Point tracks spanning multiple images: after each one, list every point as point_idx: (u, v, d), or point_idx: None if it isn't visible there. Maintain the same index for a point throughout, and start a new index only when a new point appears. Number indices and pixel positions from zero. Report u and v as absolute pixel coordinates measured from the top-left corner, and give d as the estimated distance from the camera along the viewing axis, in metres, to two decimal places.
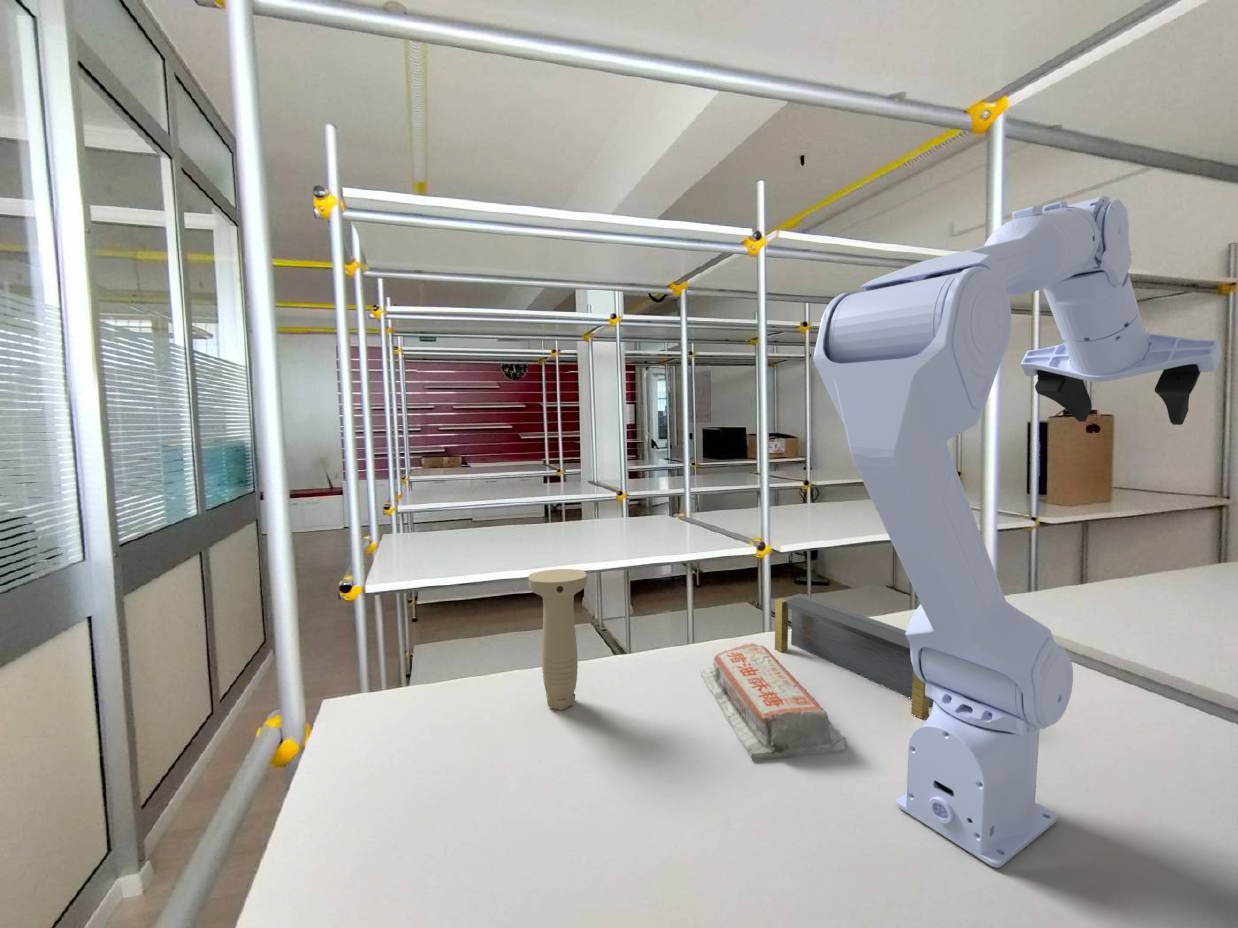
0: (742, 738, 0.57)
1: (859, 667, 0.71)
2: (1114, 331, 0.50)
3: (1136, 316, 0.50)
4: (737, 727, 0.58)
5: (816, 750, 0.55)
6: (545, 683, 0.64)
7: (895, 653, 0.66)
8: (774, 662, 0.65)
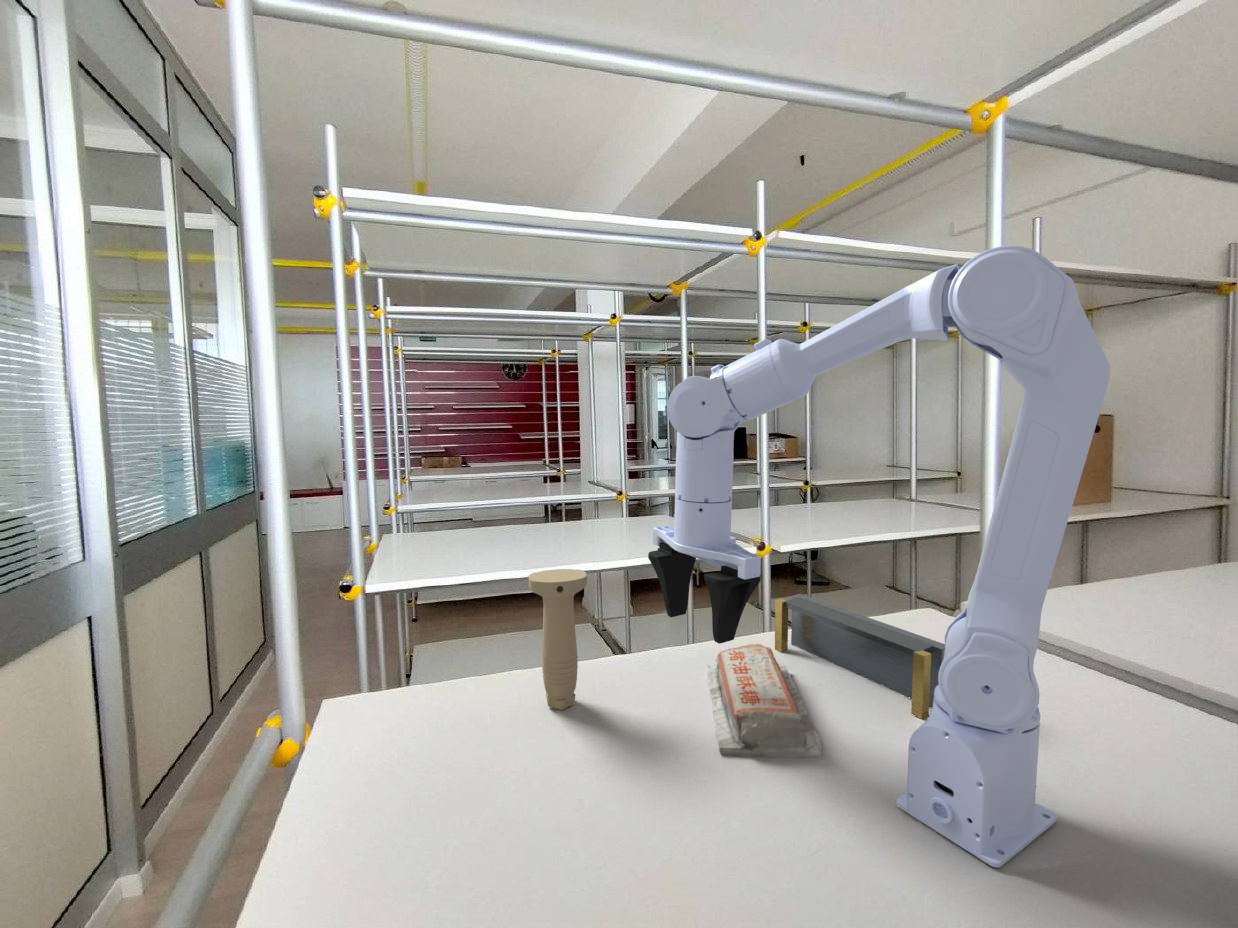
0: (717, 732, 0.58)
1: (859, 667, 0.71)
2: None
3: (721, 502, 0.55)
4: (717, 722, 0.59)
5: (789, 753, 0.54)
6: (545, 683, 0.64)
7: (895, 653, 0.66)
8: (771, 664, 0.65)
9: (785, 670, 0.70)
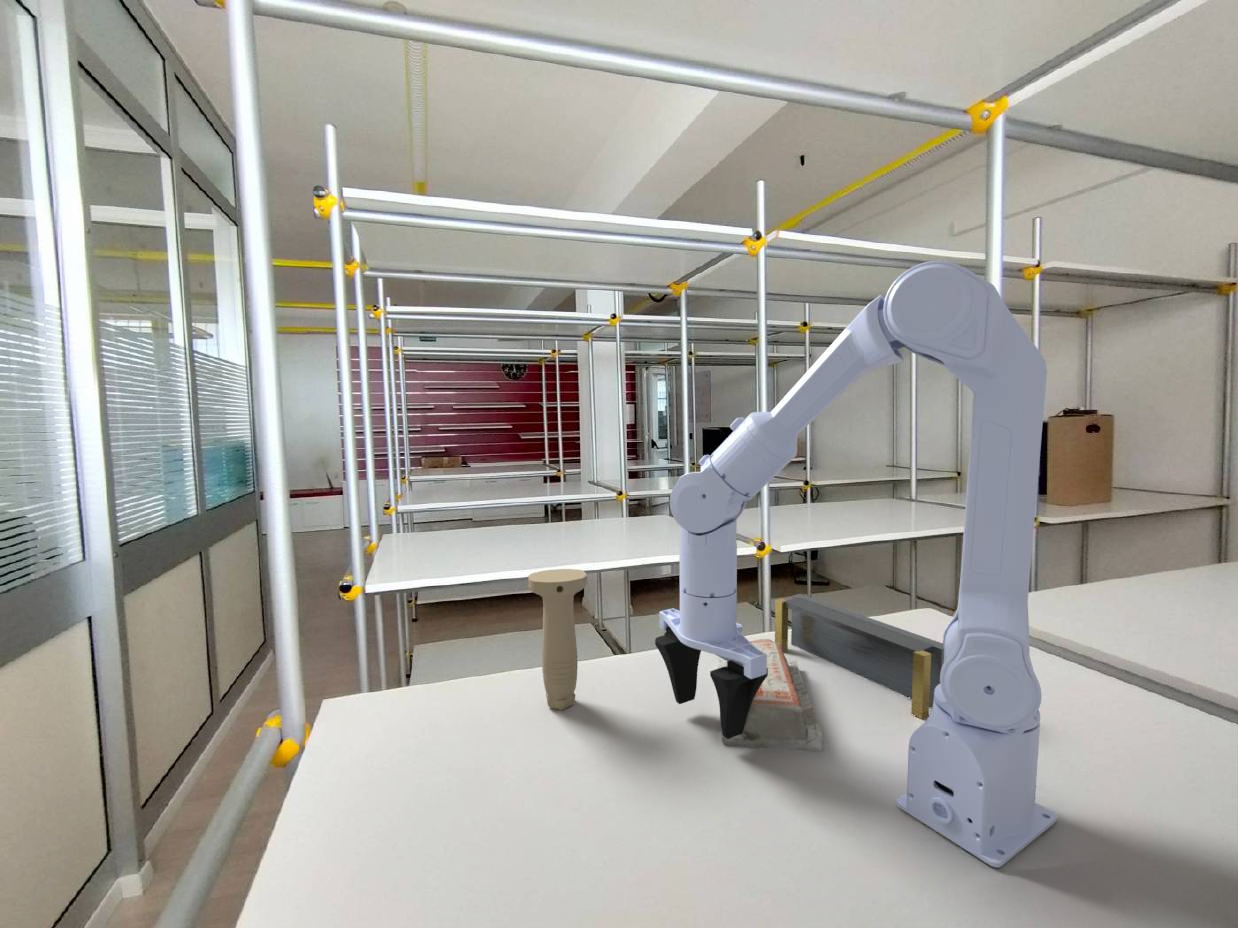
0: None
1: (859, 667, 0.71)
2: None
3: (725, 596, 0.55)
4: None
5: (790, 744, 0.56)
6: (545, 683, 0.64)
7: (895, 653, 0.66)
8: (778, 658, 0.66)
9: (795, 665, 0.71)
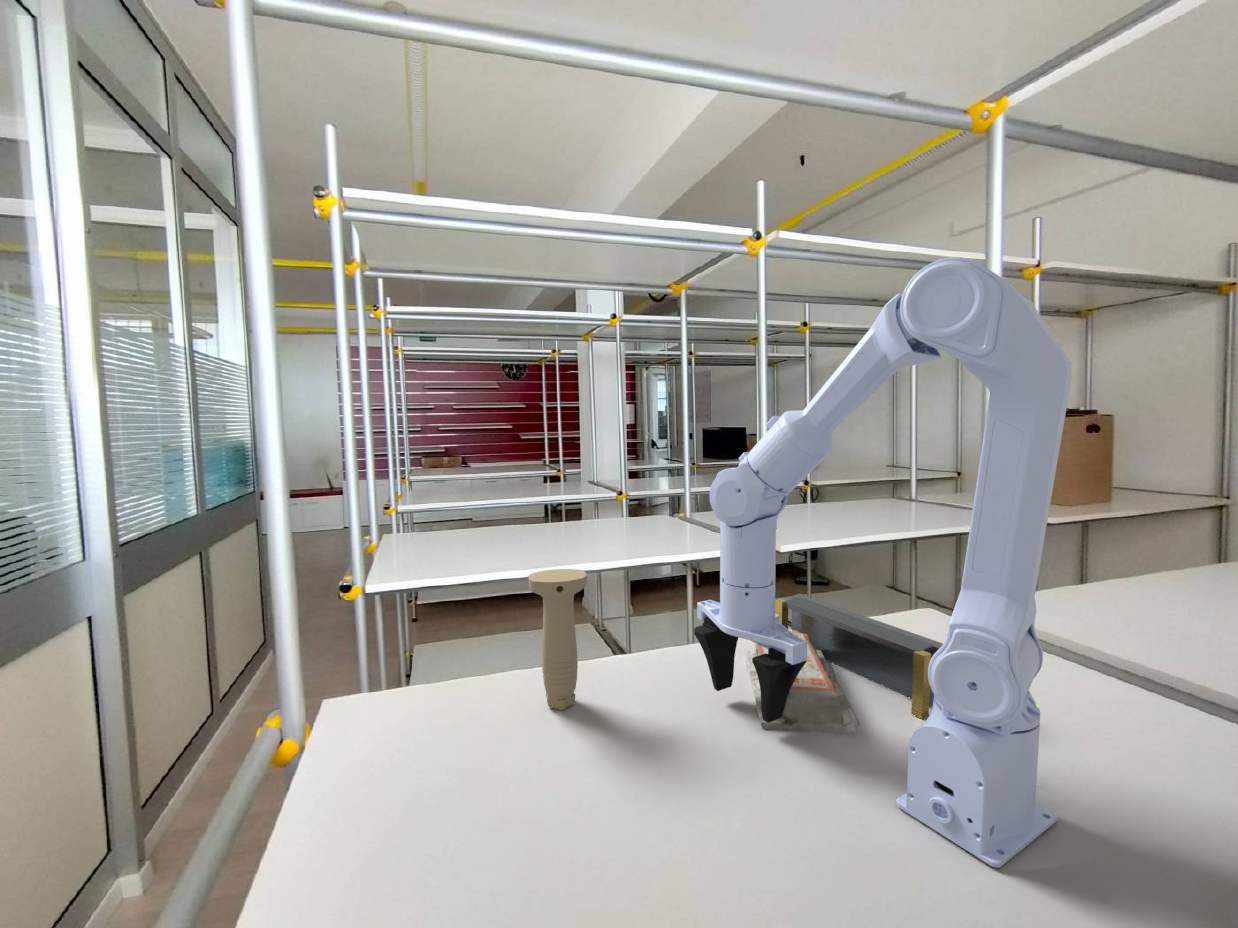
0: (759, 709, 0.62)
1: (859, 667, 0.71)
2: None
3: (766, 586, 0.58)
4: (758, 700, 0.64)
5: (826, 728, 0.58)
6: (545, 683, 0.64)
7: (895, 653, 0.66)
8: (808, 648, 0.69)
9: (821, 656, 0.74)
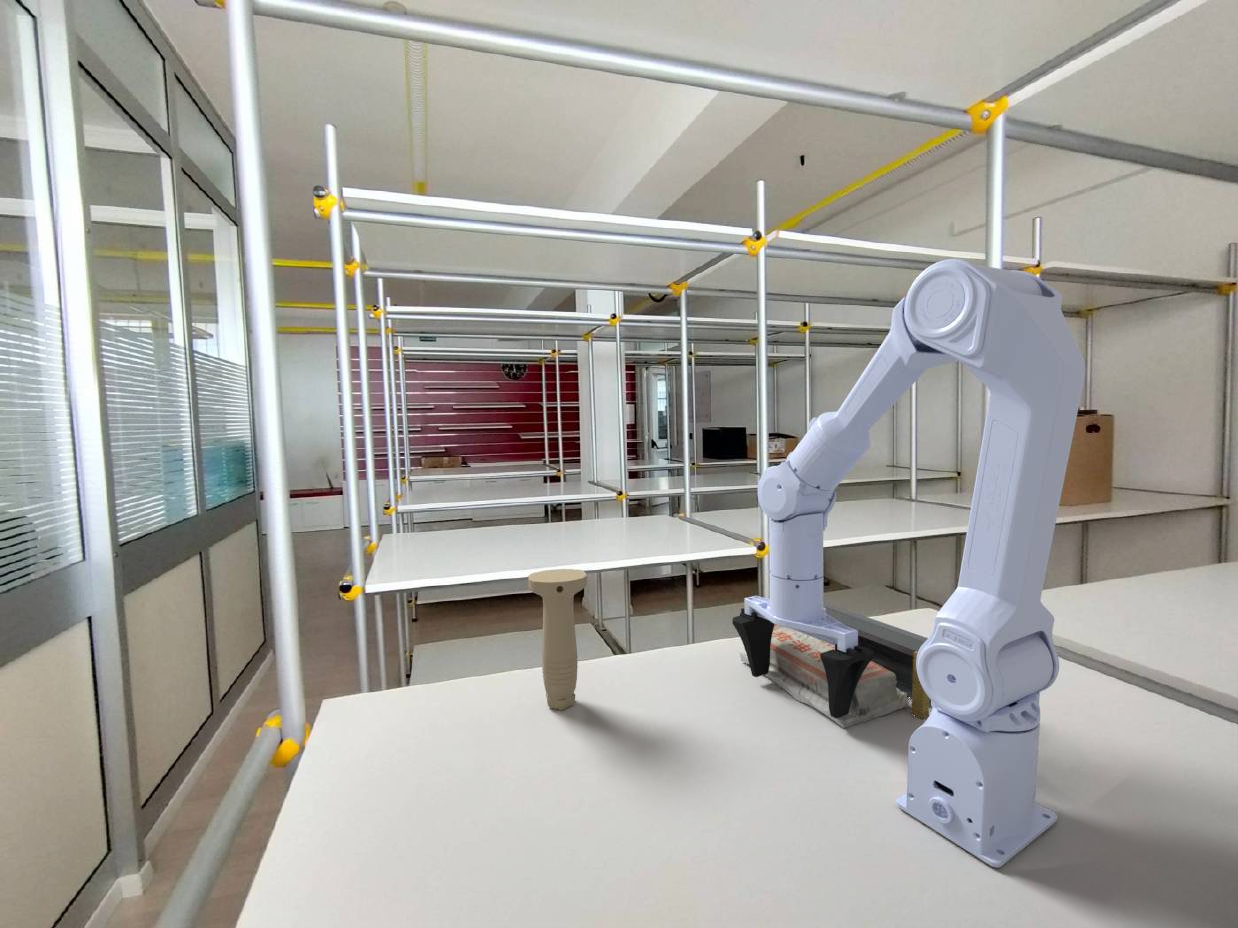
0: (825, 708, 0.61)
1: None
2: None
3: (815, 579, 0.61)
4: (813, 700, 0.63)
5: (889, 708, 0.61)
6: (545, 683, 0.64)
7: (895, 653, 0.66)
8: None
9: None
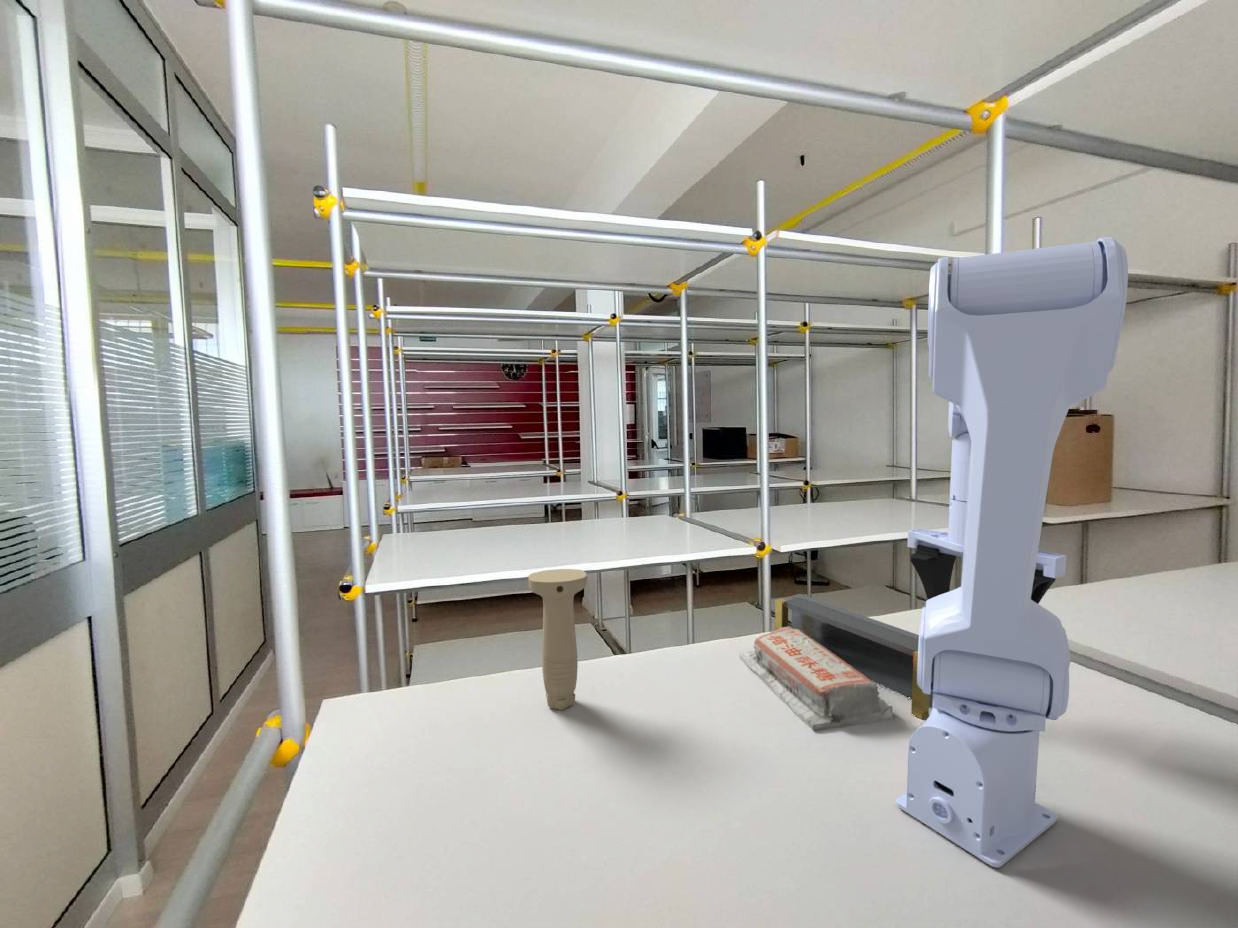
0: (799, 712, 0.61)
1: (859, 667, 0.71)
2: None
3: None
4: (791, 703, 0.63)
5: (868, 719, 0.60)
6: (545, 683, 0.64)
7: (895, 653, 0.66)
8: (814, 643, 0.70)
9: None
